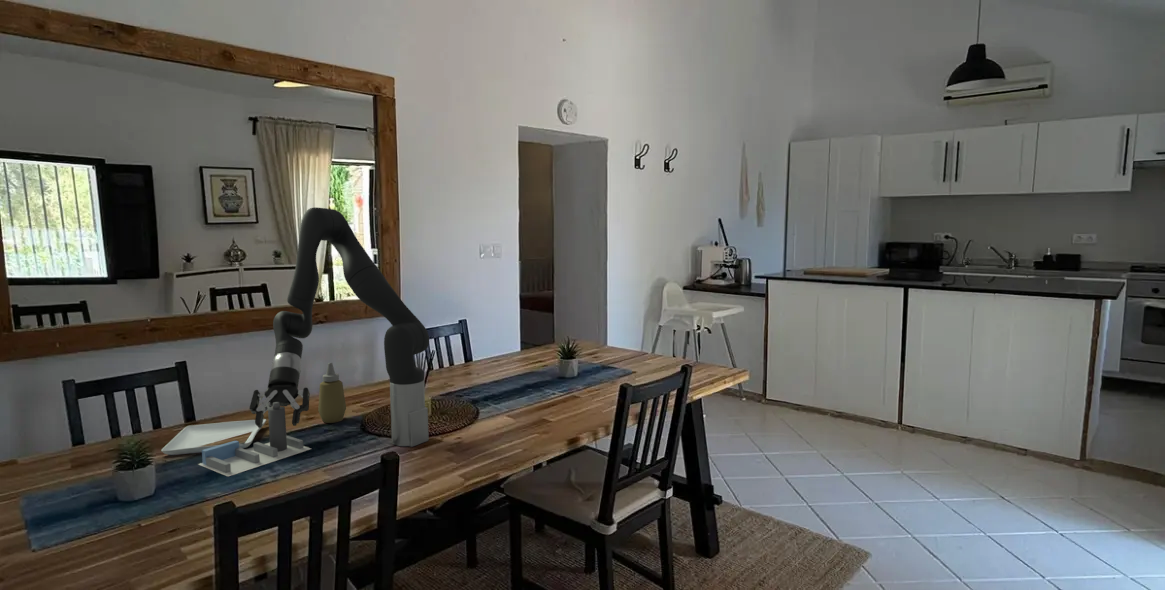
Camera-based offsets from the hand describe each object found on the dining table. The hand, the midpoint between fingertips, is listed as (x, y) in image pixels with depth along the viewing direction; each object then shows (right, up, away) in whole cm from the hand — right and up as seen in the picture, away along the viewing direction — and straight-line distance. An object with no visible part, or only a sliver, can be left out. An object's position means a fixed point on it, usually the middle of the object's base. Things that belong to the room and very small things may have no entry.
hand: (276, 425), depth 167 cm
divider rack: (-3, -8, -4) cm, 9 cm away
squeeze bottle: (+4, -5, +29) cm, 29 cm away
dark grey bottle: (0, -7, +1) cm, 7 cm away
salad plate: (-20, -7, +9) cm, 23 cm away
